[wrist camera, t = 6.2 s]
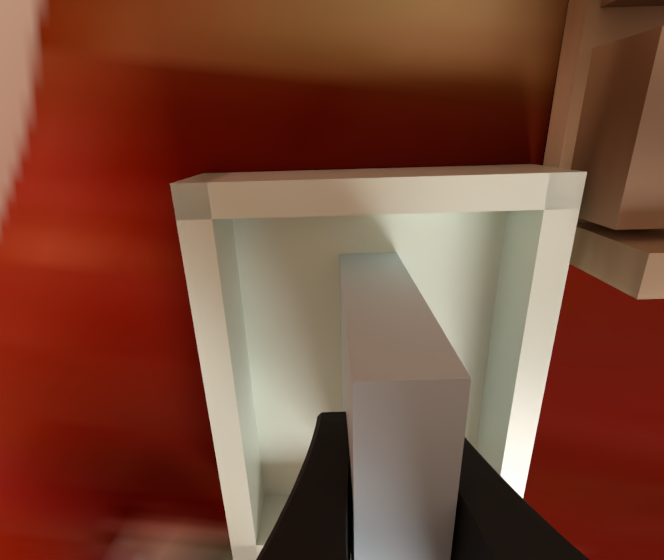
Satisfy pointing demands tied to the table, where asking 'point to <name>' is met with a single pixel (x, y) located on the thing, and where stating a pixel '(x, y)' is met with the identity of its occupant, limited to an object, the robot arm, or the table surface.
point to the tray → (324, 304)
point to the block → (399, 413)
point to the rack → (590, 238)
